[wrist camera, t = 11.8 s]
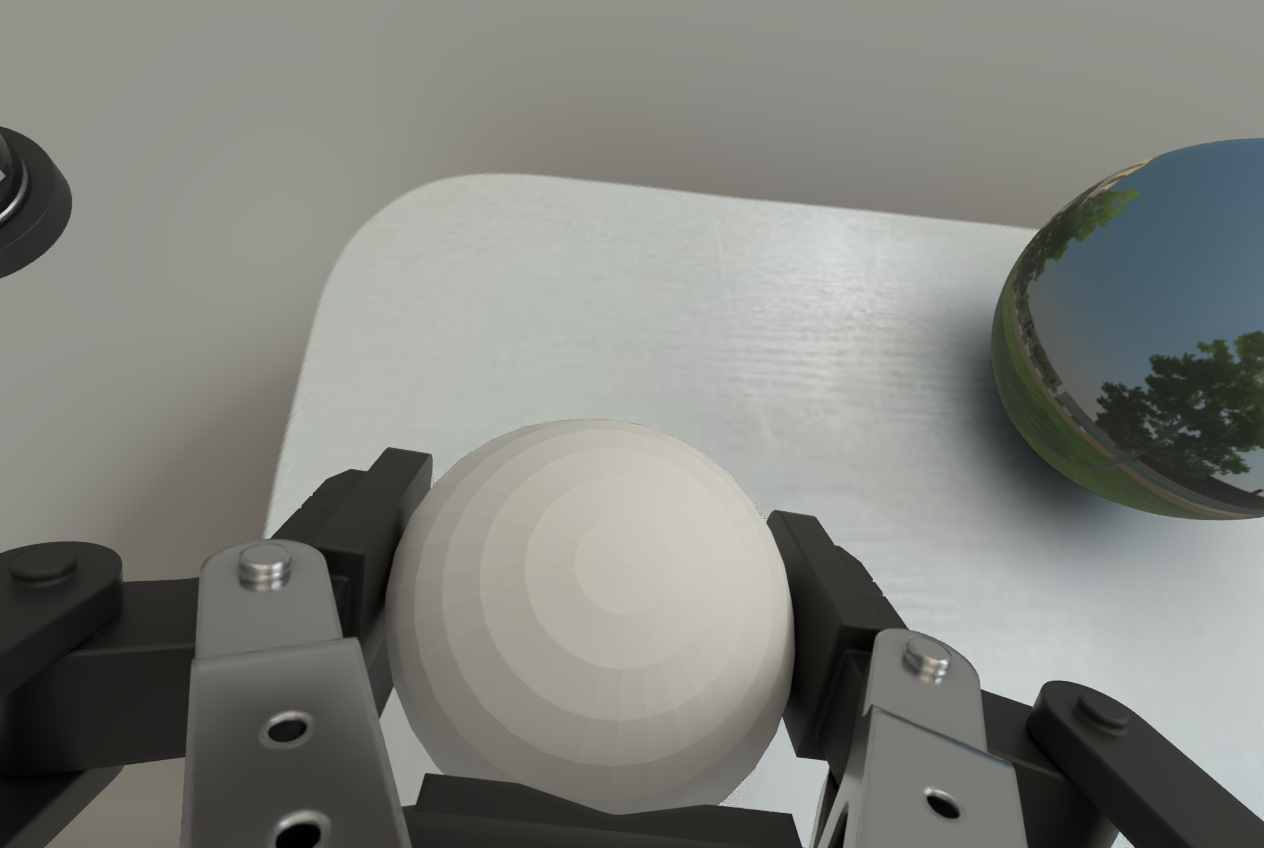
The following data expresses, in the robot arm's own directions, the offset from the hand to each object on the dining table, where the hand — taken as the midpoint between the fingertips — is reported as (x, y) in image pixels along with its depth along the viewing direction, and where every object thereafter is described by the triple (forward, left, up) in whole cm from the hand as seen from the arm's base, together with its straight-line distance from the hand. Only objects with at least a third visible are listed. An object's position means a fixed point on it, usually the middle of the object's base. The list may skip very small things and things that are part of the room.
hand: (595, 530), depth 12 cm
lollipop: (0, -2, -11) cm, 11 cm away
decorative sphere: (+28, +25, -24) cm, 45 cm away
